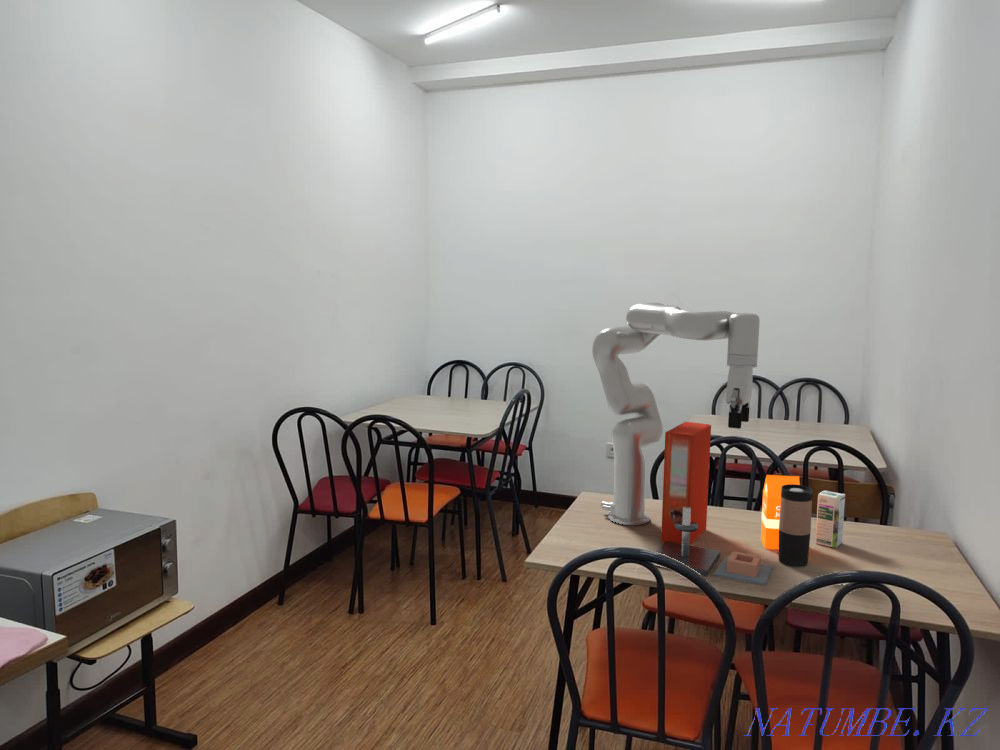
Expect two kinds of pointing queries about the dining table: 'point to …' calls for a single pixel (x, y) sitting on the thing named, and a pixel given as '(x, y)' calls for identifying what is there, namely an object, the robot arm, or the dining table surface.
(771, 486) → the orange juice
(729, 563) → the collar
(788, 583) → the dining table surface
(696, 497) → the file binder
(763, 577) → the mat
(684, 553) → the stand
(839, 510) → the syrup box
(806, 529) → the travel mug
